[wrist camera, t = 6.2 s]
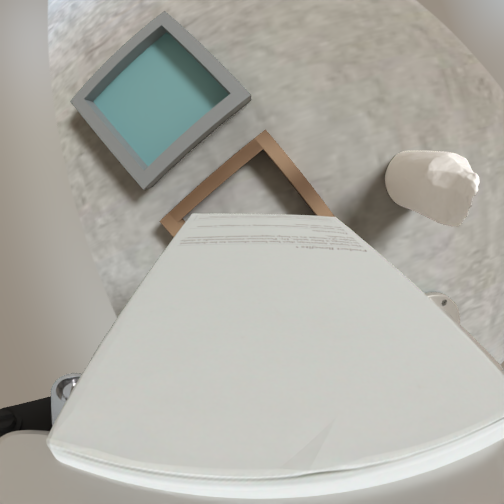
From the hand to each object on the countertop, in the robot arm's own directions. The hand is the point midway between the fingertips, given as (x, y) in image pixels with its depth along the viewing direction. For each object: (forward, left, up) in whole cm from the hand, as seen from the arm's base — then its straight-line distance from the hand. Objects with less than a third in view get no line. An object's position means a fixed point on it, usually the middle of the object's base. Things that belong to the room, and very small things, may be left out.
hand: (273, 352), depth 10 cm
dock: (+16, -1, -19) cm, 25 cm away
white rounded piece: (-6, -15, -20) cm, 25 cm away
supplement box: (0, 0, -6) cm, 6 cm away
